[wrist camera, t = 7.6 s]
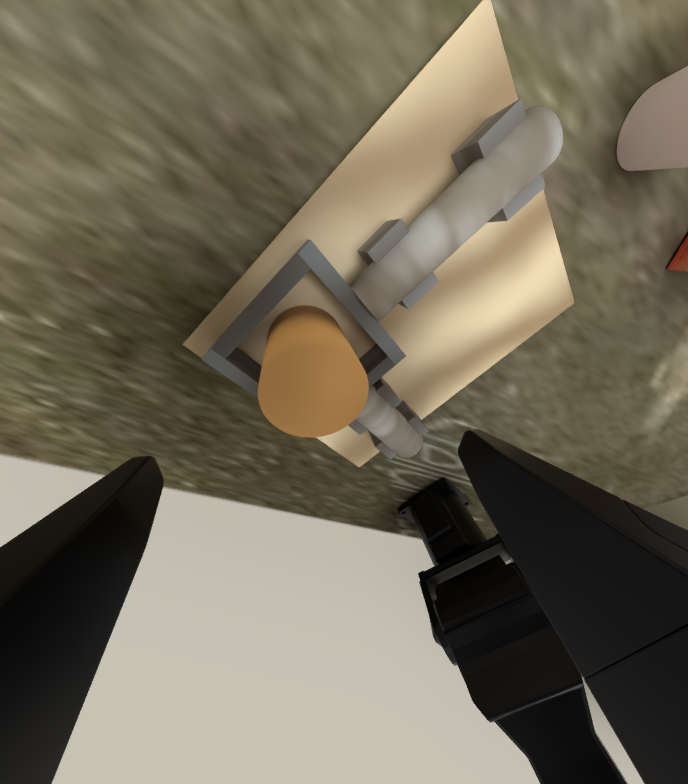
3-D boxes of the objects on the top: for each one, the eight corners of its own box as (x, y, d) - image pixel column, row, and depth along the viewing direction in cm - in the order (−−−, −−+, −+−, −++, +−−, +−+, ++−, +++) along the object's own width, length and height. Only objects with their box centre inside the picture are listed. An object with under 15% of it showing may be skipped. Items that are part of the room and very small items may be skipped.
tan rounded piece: (357, 344, 16) (388, 393, 11) (305, 389, 17) (313, 452, 12) (307, 287, 14) (318, 316, 9) (250, 342, 15) (232, 397, 10)
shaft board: (559, 299, 19) (620, 313, 15) (356, 457, 23) (367, 495, 20) (470, 16, 11) (554, -86, 7) (189, 337, 15) (160, 366, 12)
